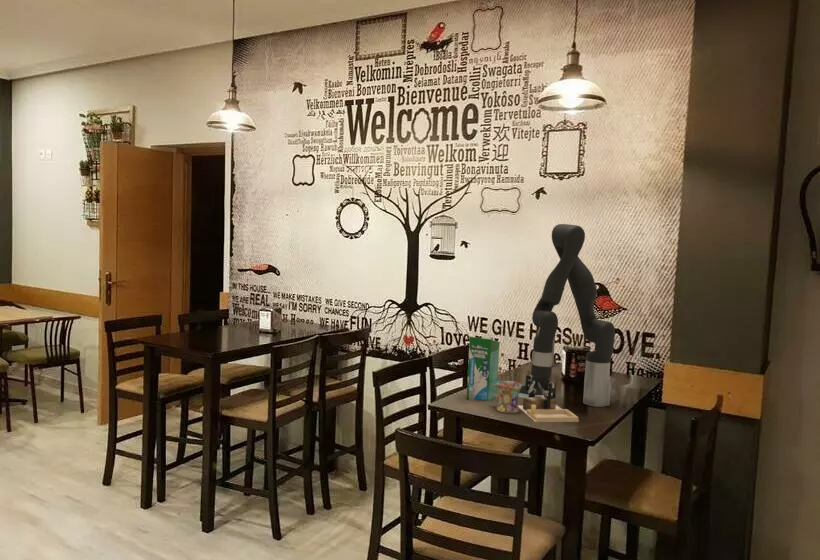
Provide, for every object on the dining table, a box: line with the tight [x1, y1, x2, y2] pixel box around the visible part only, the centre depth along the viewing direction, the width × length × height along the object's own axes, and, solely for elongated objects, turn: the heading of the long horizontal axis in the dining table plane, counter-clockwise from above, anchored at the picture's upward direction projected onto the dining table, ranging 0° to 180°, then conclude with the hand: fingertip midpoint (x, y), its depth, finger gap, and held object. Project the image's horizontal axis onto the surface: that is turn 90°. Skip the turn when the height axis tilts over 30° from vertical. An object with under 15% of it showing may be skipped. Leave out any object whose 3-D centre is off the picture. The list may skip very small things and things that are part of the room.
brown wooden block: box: [522, 396, 557, 410], centre depth 237 cm, size 11×6×4 cm, turn 119°
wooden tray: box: [518, 404, 580, 423], centre depth 232 cm, size 16×20×6 cm
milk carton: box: [466, 335, 500, 401], centre depth 251 cm, size 9×9×25 cm
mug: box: [491, 380, 523, 414], centre depth 235 cm, size 12×9×11 cm
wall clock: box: [518, 385, 548, 399], centre depth 261 cm, size 18×4×25 cm
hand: (538, 406), depth 236 cm, fingers open, 8 cm apart
